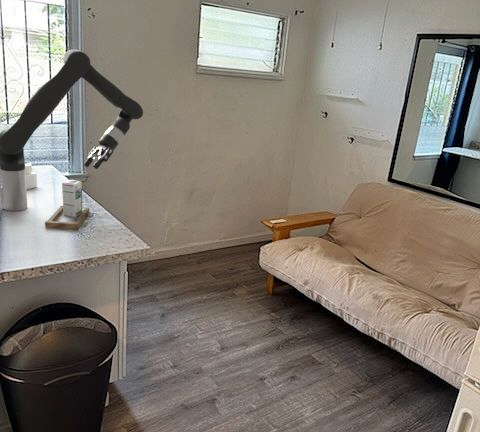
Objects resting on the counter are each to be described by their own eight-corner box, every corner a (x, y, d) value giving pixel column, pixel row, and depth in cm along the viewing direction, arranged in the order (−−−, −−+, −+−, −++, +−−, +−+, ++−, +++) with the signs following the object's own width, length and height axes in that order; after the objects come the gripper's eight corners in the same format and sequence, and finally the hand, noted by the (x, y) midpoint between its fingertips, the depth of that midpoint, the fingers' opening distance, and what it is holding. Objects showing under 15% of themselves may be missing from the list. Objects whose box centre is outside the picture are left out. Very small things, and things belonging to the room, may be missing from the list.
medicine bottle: (14, 187, 214) (12, 163, 210) (26, 184, 220) (25, 160, 216) (25, 190, 212) (24, 165, 208) (37, 187, 218) (36, 163, 214)
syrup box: (75, 217, 186) (74, 184, 181) (62, 215, 187) (61, 182, 182) (82, 213, 191) (82, 181, 186) (70, 211, 192) (69, 178, 187)
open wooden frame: (45, 228, 172) (45, 222, 171) (61, 210, 192) (60, 204, 191) (83, 230, 174) (82, 224, 173) (94, 212, 194) (94, 206, 193)
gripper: (97, 132, 199) (75, 160, 193) (114, 133, 189) (91, 162, 184) (109, 143, 204) (88, 171, 198) (125, 145, 194) (104, 173, 189)
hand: (89, 167), depth 191 cm, fingers open, 8 cm apart
